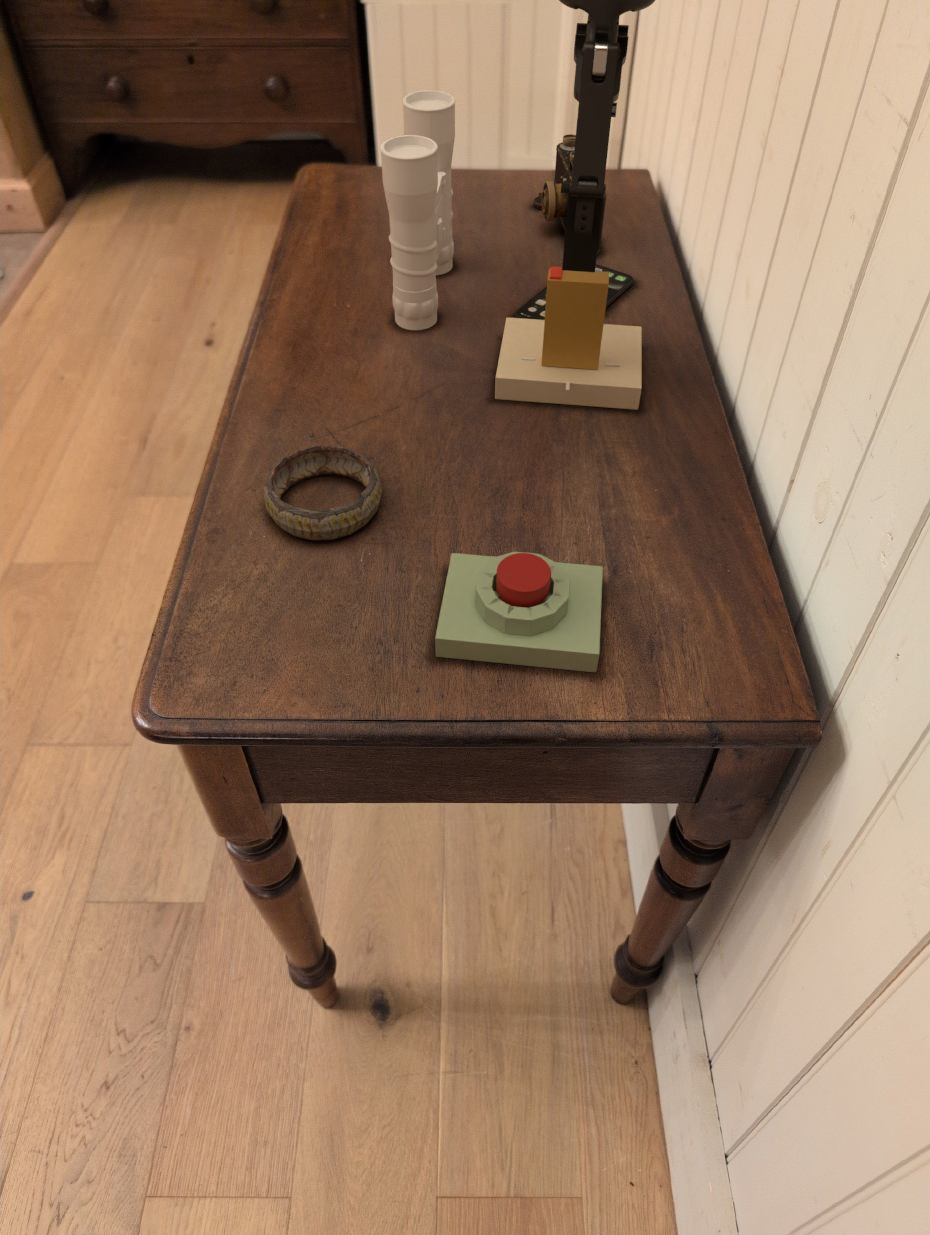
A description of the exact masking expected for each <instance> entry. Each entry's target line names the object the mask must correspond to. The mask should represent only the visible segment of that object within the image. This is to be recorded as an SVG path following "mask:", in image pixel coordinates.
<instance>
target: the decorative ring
mask: <svg viewBox="0 0 930 1235" xmlns="http://www.w3.org/2000/svg"><path fill="white" fill-rule="evenodd" d="M320 476H321V477H322V476H338V477H344V478H349V479H352V480H354V481H355V482H358V483H359V484H362V485H363V487H365V489H364V490H363V491H362V492H361V493H360V494H359V496H357V497H355V498H354V499H352V500H351V501H349V502H347V503H345V504H342V505H339V506H336V507H332V508H328V509H306V508H300V507H296V506H292V505H291V504H289V503H287V502H286V501H283V500H281V498H282V496H283V495H284V494H285V493H286V492H288V490H289V489H290V488H292V487H293V486H295V485H297V484H298V483H301V482H302V481H304V480H308V479H311V478H316V477H320ZM382 494H383V486H382V482H381V478H380V476H379V472H378V470H377V469H376V468H375V466H374V465H373V464H372V463H371V462H370V461H369V460H368V459H367V458H366V457H365V455H363V454H361V453H360V452H357V451H356V450H353V449H351V448H349V447H345V446H339V445H333V444H331V445H327V444H326V445H313V446H309V447H304V448H301V449H297V450H295V451H293V452H291V453H290V454H287V455H286V456H284V457H282V458H281V459H280V460H279V461H278V462H276V463H275V465H274V466H273V467H271V469H270V471H269V474H268V476H267V479H266V481H265V483H264V486H263V500H264V507H265V509H266V511H267V513H268V515H269V516H270V517H271V519H272V520H273V521H274V523H275V524H276V525H277V526H278V527H279V528H280V529H281V530H283V531H284V532H287V533H288V534H290V535H292V536H294V537H295V538H299V539H304V540H308V541H333V540H336V539H340V538H342V537H347V536H350V535H353V533H355V532H357V531H359V530H360V529H362V528H364V527H365V526H366V525H367V524H368V523H369V522H370V520H371V519H372V518H373V517H374V516H375V514H376V513H377V511H378V510H379V506H380V503H381V499H382Z"/></svg>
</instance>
